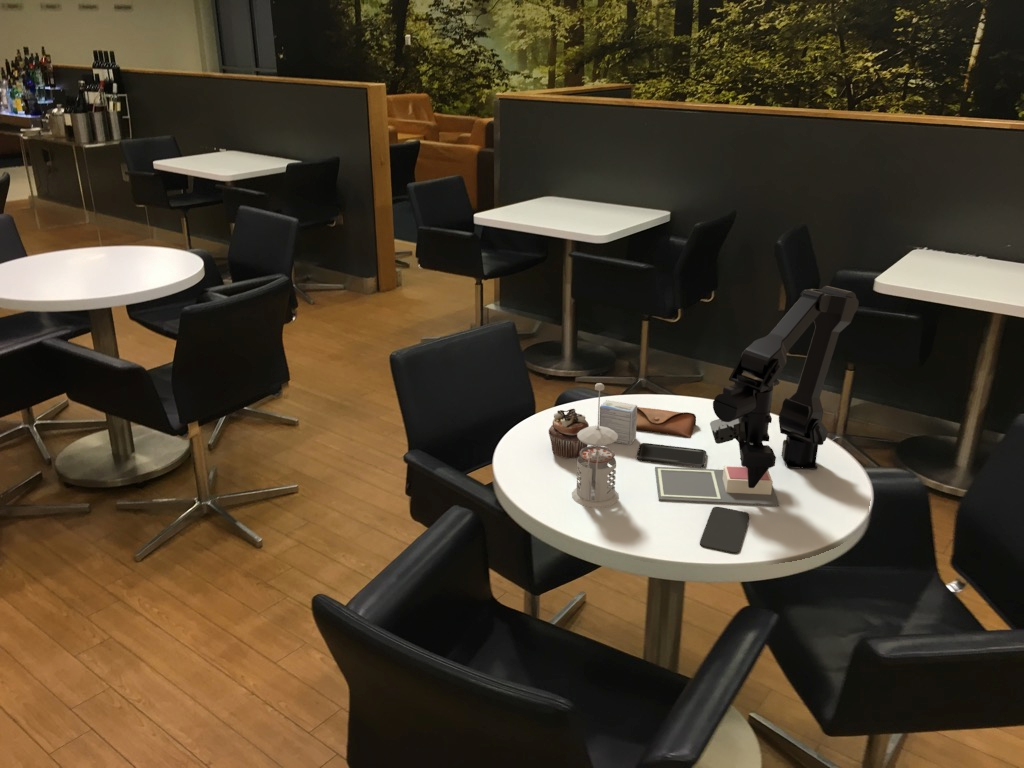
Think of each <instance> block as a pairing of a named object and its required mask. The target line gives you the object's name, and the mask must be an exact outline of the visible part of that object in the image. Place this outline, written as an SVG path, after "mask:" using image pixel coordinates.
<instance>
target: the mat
mask: <svg viewBox="0 0 1024 768" xmlns="http://www.w3.org/2000/svg"><path fill="white" fill-rule="evenodd" d="M723 470H724V469H711V468H710V469H709V468H695V467H671V466H670V467H669V466H667V467H666V466H655V467H654V471H655V479H656V489H657V496H658V497H657V498H658V501H661V502H677V503H679V502H681V503H698V504H699V503H702V504H705V503H706V504H719V505H720V504H721V505H738V506H739V505H741V506H742V505H743V506H760V507H761V506H763V507H780V506H781V505H780V502H779V499H778V497H777V494H776V491H775V488H774V486H773V485H772V491H771V495H768V494H747V493H726V489H725V486H724V482H723Z"/></svg>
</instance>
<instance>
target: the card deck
mask: <svg viewBox="0 0 1024 768" xmlns="http://www.w3.org/2000/svg"><path fill="white" fill-rule="evenodd" d="M722 470H723V482H724V486H725V489H726V493H747V494H768V495H771V491H772V486H773V483H774V482H773V479H772V476H771V474H770V471H769V469H768V470H767V471H766V473H765V474H764V475H763V476H762V478H761V479H760V481H759V482H758V483H757V485H756V486H755V487H754V488H749V487H748V477H747V467H742V466H732V465H729V466H728V465H724V466H723V469H722Z"/></svg>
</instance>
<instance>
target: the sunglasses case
mask: <svg viewBox="0 0 1024 768" xmlns="http://www.w3.org/2000/svg"><path fill="white" fill-rule="evenodd" d="M696 424H697V417H696V414H695V413H693V412H687V411H685V412H680V411H673V410H668V409H667V410H666V409H659V408H650V407H640V406H637V424H636V432H638V431H639V432H646V433H655V434H662V435H669V436H670V435H671V436H677V437H683V438H688V439H690V438H692V435H693V431H694V429H695V426H696Z"/></svg>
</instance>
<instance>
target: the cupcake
mask: <svg viewBox="0 0 1024 768" xmlns="http://www.w3.org/2000/svg"><path fill="white" fill-rule="evenodd" d="M586 418H587V417H586V416H585V415H584V414H580V413H577V412H576V408H570V409H568V410H557V412H555V413H554V414H553V420H552V424H551V426H550V427H549V429H548V436H549V439H550V444H551V451H552V453H553V454H555V455H557V456H558V457H561V458H565V459H566V458H567V459H575V458H578V457H579V456H580V455H579V452H580V451H581V449H583V448H585V447H589V445H587V444H585V443H583V442H581V441H580V440H579V439H578V436H577V434H578V432H579V431H580V430H582V429H585V428H587V427H590V426H589V423H588V421H587V420H586Z"/></svg>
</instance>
